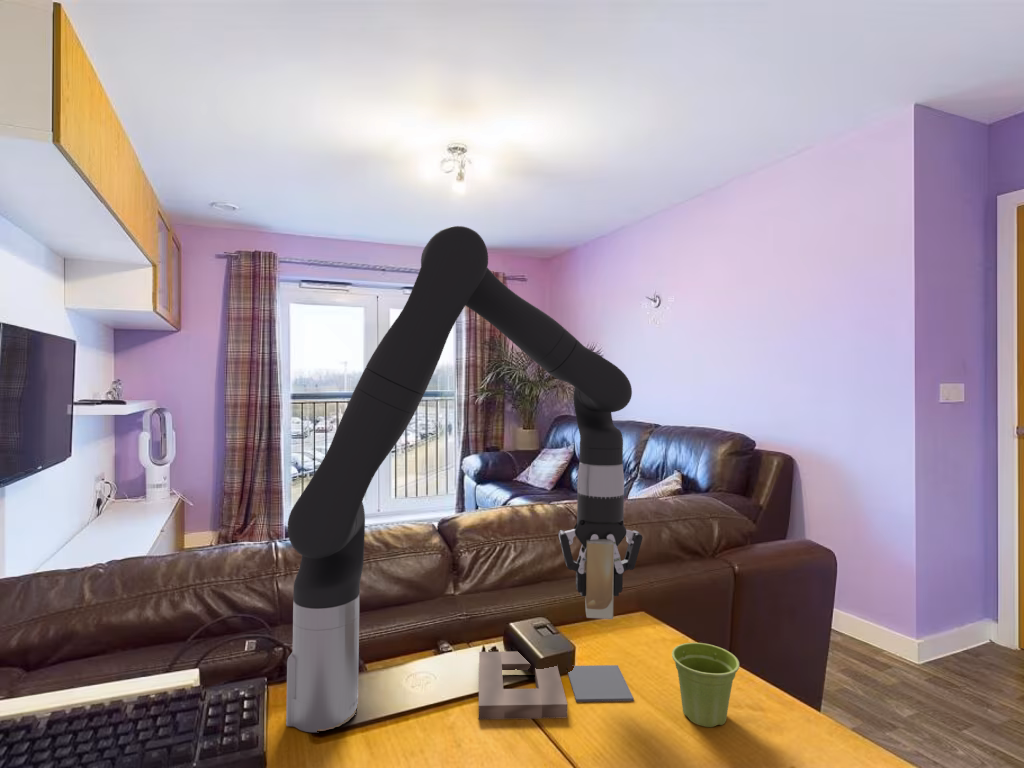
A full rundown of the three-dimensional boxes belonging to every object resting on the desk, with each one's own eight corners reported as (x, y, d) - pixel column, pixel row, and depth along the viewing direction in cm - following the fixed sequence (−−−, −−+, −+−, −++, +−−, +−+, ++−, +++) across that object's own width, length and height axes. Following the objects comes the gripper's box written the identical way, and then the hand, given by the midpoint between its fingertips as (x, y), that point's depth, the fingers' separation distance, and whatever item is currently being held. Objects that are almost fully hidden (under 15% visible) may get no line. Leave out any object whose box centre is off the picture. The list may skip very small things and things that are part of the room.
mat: (576, 701, 84) (576, 699, 84) (566, 668, 94) (566, 665, 94) (633, 700, 84) (633, 698, 84) (617, 667, 94) (617, 665, 94)
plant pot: (737, 743, 74) (738, 680, 75) (666, 724, 78) (667, 664, 78) (739, 707, 83) (740, 650, 83) (675, 691, 87) (676, 637, 87)
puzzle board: (478, 719, 79) (478, 705, 79) (479, 663, 95) (479, 651, 95) (567, 717, 80) (567, 704, 80) (553, 662, 96) (553, 651, 96)
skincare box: (585, 603, 92) (585, 531, 92) (611, 604, 92) (611, 532, 92) (585, 619, 86) (586, 541, 86) (613, 620, 85) (614, 542, 86)
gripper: (560, 494, 85) (558, 604, 85) (650, 495, 86) (649, 603, 86) (554, 486, 92) (552, 586, 92) (637, 486, 93) (635, 586, 93)
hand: (599, 594), depth 89 cm, fingers closed on skincare box, 4 cm apart
